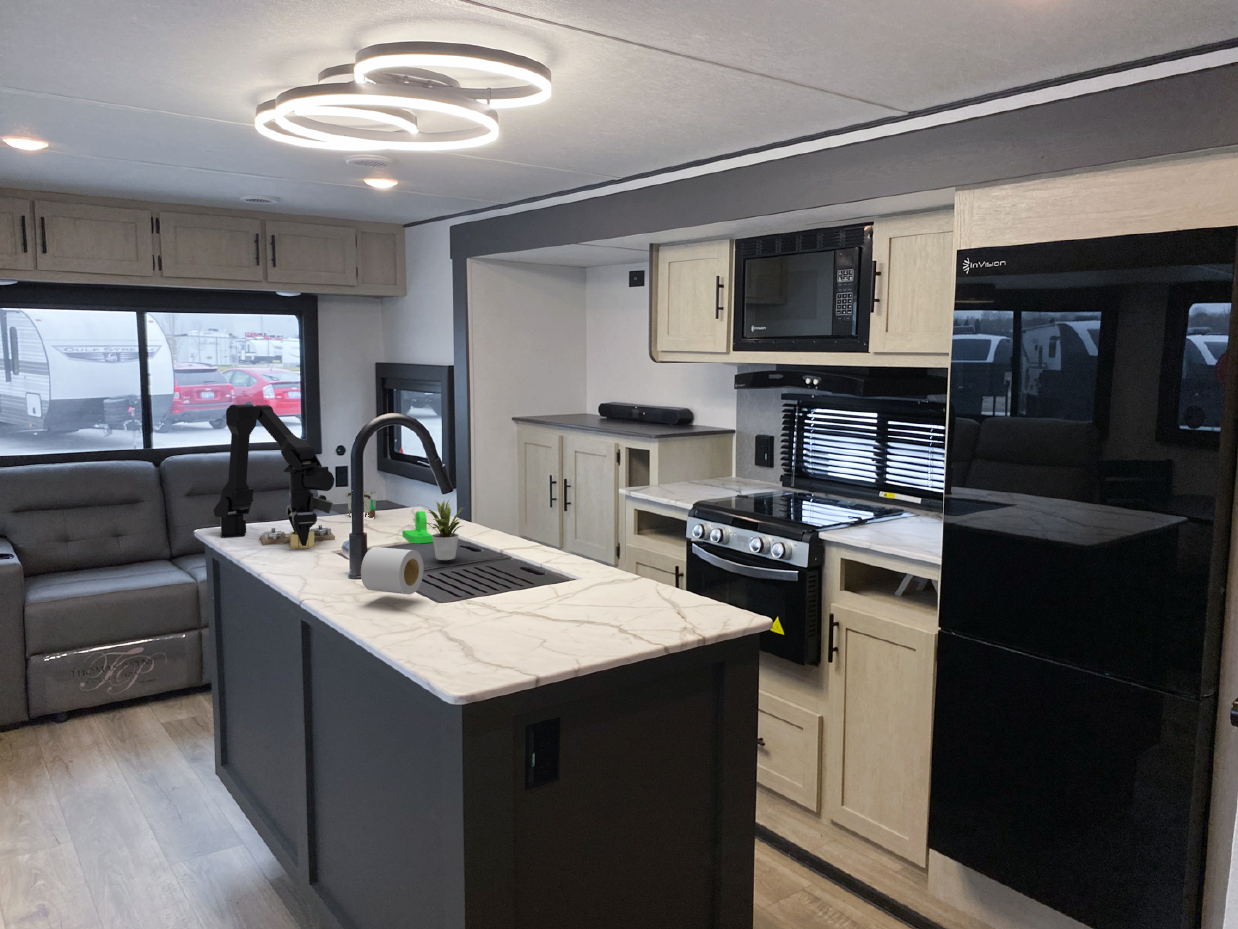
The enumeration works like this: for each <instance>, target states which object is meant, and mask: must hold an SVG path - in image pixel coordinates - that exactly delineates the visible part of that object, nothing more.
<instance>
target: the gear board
mask: <svg viewBox="0 0 1238 929" xmlns="http://www.w3.org/2000/svg"><path fill="white" fill-rule="evenodd" d="M284 534H285V537H283V538H278V539H265V538H262V534H261V535H259V540H260V542H261V544H262V546H270V545H271V546H273V545H282V544H283V545H284V544H285V545H286V544H287V543H288V544H290V534H289V533H284ZM316 541H317V542H326V541H336V536H335V535H334V534H333V532H331V534H330V535H324V536H314V543H316Z"/></svg>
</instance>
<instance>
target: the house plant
mask: <svg viewBox="0 0 1238 929" xmlns="http://www.w3.org/2000/svg"><path fill="white" fill-rule="evenodd" d="M449 501H450V499H448V501H445V500H443V502H442V503H441V504H440V503H439V502H438V501H437V500H434V502H435V503H436V506H437V511H438V514H439V516H438V514H437V513H436V512H435V511H434V510H431V509H429V507H428V506H426V507H427V508H424V507H425V505H424V504H422V506H424V507H422V509H424V510H425V511H426V510H427V511H428V512H429V514H431V515H432V517H433V519H432V520H434V521H435V523H432V522H427V523H425V524H423V525H422V526H424V525H426V524H427V525H428V526H430V527H431V528H432V530H436V529H437V530H438V532H437V533H435V534H431V535H432V539H433V542H432V544H433V551H434V555H435V559H436V560H440V561H448V560H454V559H456V557H457V556H456V554H457V548H458V542H459V536H460V535H459V534H458V533H455V532H456V531H457V530H458V529H459V528H462V527H463V525H459V524H460V523H461V521H459V520H461V518H458V516H459V514H460V513H461V512H462V511H463V510H464V508H460V509H459V510H458V512H456V514H455V516H454V517H453V518H452V521H451V510H452V509H451V507H450V503H449ZM419 505H420V504H417V506H419ZM457 518H458V519H457ZM462 520H463V521H464V520H465V519H464V518H462ZM422 521H423V520H422ZM425 522H426V521H425ZM450 522H451V523H450ZM432 525H433V526H432ZM458 525H459V526H458Z"/></svg>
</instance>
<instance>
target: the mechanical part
mask: <svg viewBox="0 0 1238 929" xmlns="http://www.w3.org/2000/svg"><path fill="white" fill-rule="evenodd" d="M414 518H415V521H414V523H415V524H414V526H415V527H414V528H415V529H406V530H404V529H403V530H402V537H403V538H404V539H405V540H407V541H408V542H409V543H412V544H426V543H427V544H428V543H433V539H432V535H433V534H431V533H429V532H428V528H427V527H428V524H426V525H424V526H422V525H423V524H425V523H428V520H427V514H426V510H425V511H424V510H418V511H416V512H415V517H414ZM422 520H423V521H422ZM425 521H426V522H425Z"/></svg>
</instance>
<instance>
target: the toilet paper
mask: <svg viewBox="0 0 1238 929" xmlns="http://www.w3.org/2000/svg"><path fill="white" fill-rule="evenodd" d="M424 568H425V567H424V560H423V557H422V555H421V553H419V551H418V550H415V549H414V550H413V549H404V548H390V547H379V546H374V547H371V548H370V549H368V550H367V552H366V553H365V555H364V556H363V559H362V562H361V566H360V577H361V582H362V585H363V586H364V588H366V590H368V591H373V592H383V593H392V594H393V593H394V594H401V595H413V594H415V593H416V592H417V590H419V588H420V586H421V584H422V580H423V576H424Z"/></svg>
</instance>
